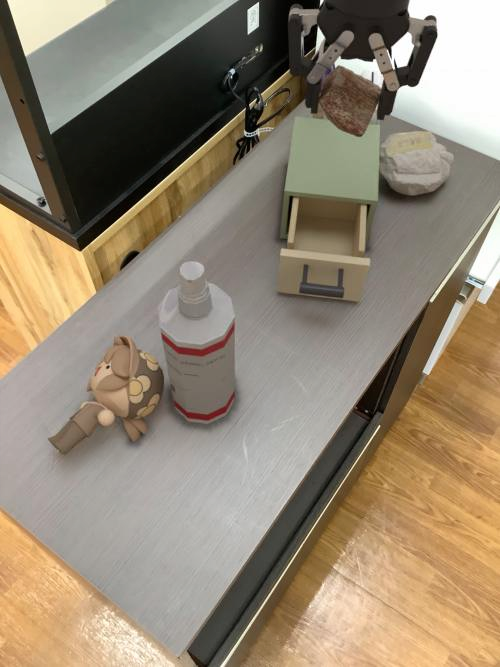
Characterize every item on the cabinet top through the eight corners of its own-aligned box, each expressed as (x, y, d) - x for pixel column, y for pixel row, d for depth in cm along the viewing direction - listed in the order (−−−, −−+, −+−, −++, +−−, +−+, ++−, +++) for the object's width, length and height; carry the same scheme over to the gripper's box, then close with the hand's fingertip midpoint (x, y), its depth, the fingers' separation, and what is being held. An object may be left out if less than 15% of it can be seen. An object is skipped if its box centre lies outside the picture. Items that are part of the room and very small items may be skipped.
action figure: (18, 407, 72) (117, 328, 78) (77, 475, 76) (168, 394, 81) (33, 419, 64) (144, 328, 69) (99, 495, 67) (200, 402, 72)
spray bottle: (166, 418, 76) (140, 296, 55) (178, 366, 80) (158, 233, 59) (230, 426, 75) (228, 307, 54) (238, 373, 80) (240, 243, 59)
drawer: (358, 328, 83) (369, 292, 76) (273, 317, 83) (276, 281, 77) (363, 223, 93) (372, 184, 86) (287, 215, 93) (290, 175, 87)
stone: (334, 152, 67) (372, 135, 63) (300, 111, 64) (338, 91, 60) (352, 108, 70) (389, 90, 66) (321, 68, 67) (358, 46, 63)
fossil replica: (459, 187, 99) (413, 156, 104) (476, 141, 93) (425, 111, 97) (407, 216, 94) (361, 182, 99) (420, 169, 88) (370, 136, 92)
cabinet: (365, 248, 91) (378, 200, 83) (279, 238, 92) (284, 190, 84) (368, 174, 100) (380, 125, 92) (290, 166, 100) (294, 116, 92)
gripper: (461, -72, 53) (414, 96, 67) (294, -86, 54) (282, 84, 68) (467, -27, 49) (416, 142, 63) (286, -42, 50) (275, 128, 64)
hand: (346, 111), depth 66 cm, fingers closed on stone, 6 cm apart
